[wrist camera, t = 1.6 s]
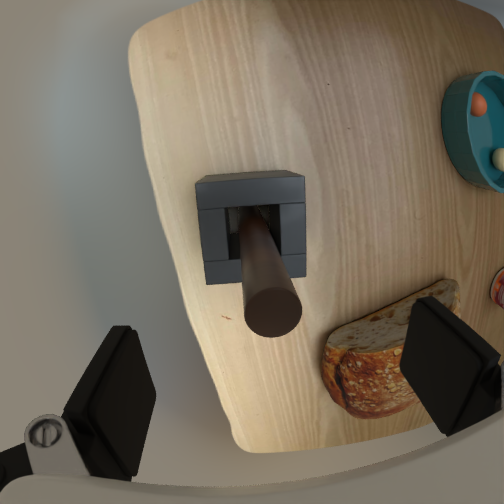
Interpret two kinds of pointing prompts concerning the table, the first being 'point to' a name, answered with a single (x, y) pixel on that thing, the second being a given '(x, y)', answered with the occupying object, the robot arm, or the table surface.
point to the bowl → (475, 128)
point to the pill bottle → (498, 289)
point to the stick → (265, 279)
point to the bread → (377, 357)
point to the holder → (250, 194)
